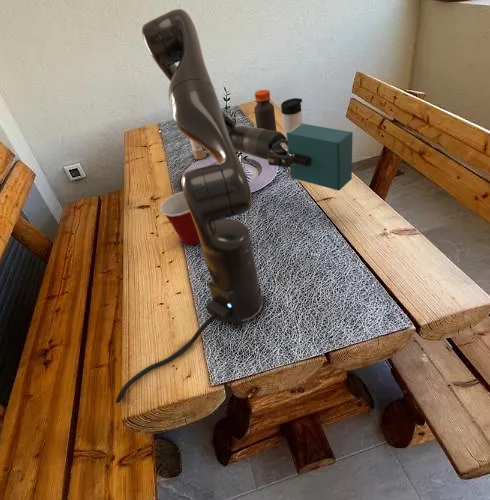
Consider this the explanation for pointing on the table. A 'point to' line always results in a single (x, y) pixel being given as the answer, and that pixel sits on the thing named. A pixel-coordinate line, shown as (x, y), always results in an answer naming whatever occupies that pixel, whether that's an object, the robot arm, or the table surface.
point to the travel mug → (291, 114)
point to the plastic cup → (180, 218)
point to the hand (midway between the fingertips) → (317, 155)
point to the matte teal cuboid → (322, 155)
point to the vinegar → (264, 111)
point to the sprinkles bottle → (197, 150)
